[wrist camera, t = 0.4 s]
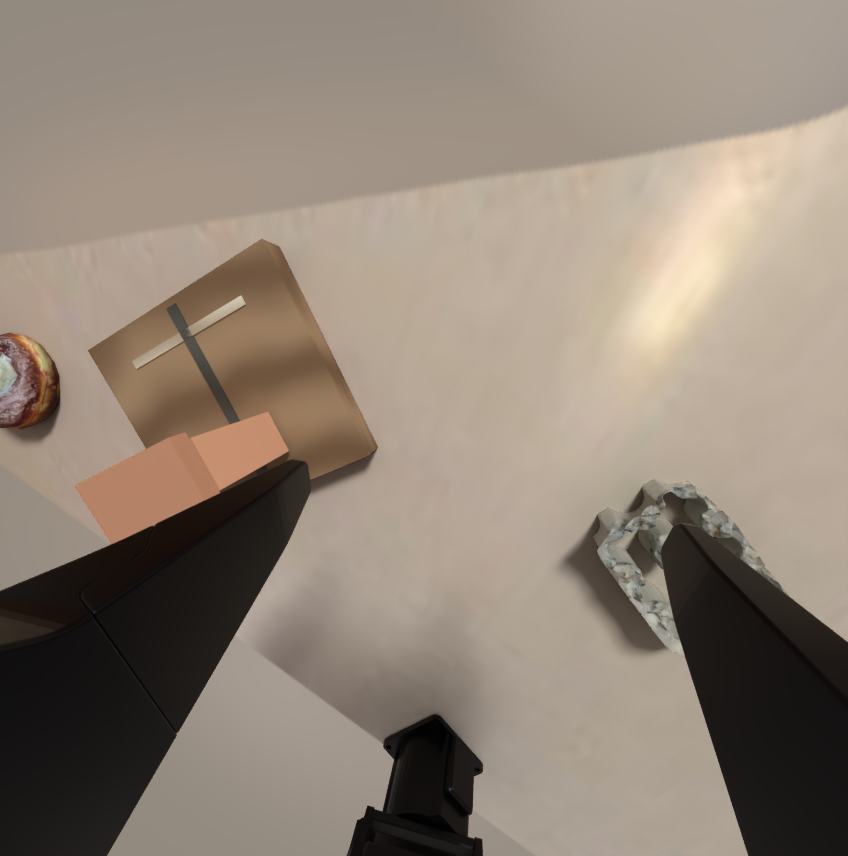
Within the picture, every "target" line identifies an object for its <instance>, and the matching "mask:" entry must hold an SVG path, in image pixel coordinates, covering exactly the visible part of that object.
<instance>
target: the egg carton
mask: <svg viewBox="0 0 848 856" xmlns="http://www.w3.org/2000/svg"><path fill="white" fill-rule="evenodd" d="M642 490H643V492H644V501H643V503H642V505H641V506H640V507H639V508H638V509H637V510H635V511H633V512H629V513H625V512H618V511H616V510H614V509H613V508H611V507H610V508H607V509H605V510H604V511H602V512H601V513H599V514H598V518H599V520H600V528H599V530H598V532H597V533H596V534H595V535H594V536H593V538H594V540H595V542H596V544H597V546H598V547H599V548H598V550H597V551H598V555H599V556H600V558H601V560H602V562H603V563H604V565H605V566H606V568H607V569H608V570H609V571H610V573H611V574H612V576H613V577H614V578H615V580H616V581H617V582H618V584H619V585H620V587H621V588H622V589H623V591H624V592H625V593H626V595H627V596H628V598H629V599H630V601H631V602H632V603H633V604H634V605H635V607H636V608H637V610H638V611H639V612H640V614H641V615H642V616H643V618H644V619H645V620H646V621H647V623H648V624H649V626H650V627H651V629H652V630H653V631H654V632H655V634H656V635H657V636H658V637H659V639H660V640H661V641H662V642H663V644H664V645H665V646H666V647H667V648H668V649H669V650H670V651H672V652H675V653H678V654H683V655H684V652H683V648H682V645H681V642H680V639H679V636H678V633H677V629H676V626H675V623H674V619H673V615H672V610H671V606H670V604H669V603H668V601H667V600H666V599H665V597H664V596H663V594H662V593H661V591H660V590H659V588H658V587H657V586H656V585H655V584H653V583H652V582H649V581H644V579H643V577H642V573H641V570H640V569H639V568H638V567H637V565H636V564H635V563H634V561H633V559H632V558H631V556H630V555H629V553H628V552H627V551H626V549H624V548H623V547H621V546H618V545H608V544H609V543H610V542H613V541H615V540H617V539H619V538H622V536H623V535H624V530H627V531H629V532H633V531H635V530H636V529H639V531H638V538H639V541H640V542H641V544H642V545H643V546H644V548H645V549H646V551H647V552H648V553H649V555H650V557H651V558H652V559H653V560H654V561H655V562H656V563H657V564H658V565H659V566H660V568H661V569H663V565H662V560H661V548H662V545H663V543H664V541H665V540H666V538H667V536H668V534H669V532H670V531H671V529H672V527H673V525H672V524H671V523H670V522H668V521H667V520H664V519H660V518H658V517H660V515H661V514H660V511H659V508H663V507H665V505H666V504H665V502H664V500H663V495H664V494H666V493H668V492H672V493H673V494H675V495H676V496H678V497H680V498H682V499H686V501H685V504H684V511H685V513H686V515H687V516H688V517H689V518H690V519H691V521H692V522H694V523H695V524H696V525H697V526H699V527H700V528H702V529H703V530H704V531H705V532H707V533H708V534H709V535H711V536H712V537H717V538H716V540H717V541H718V542H720V543H721V544H722V545H723V546H725V547H726V548H727V549H729V550H730V551H731V552H732V553H734V554H735V555H736V556H738V557H739V558H740V559H741V560H743V561H744V562H745V563H747V564H748V565H749V566H750V567H752V568H753V569H754V570H756V571H757V572H758V573H759V574H761V575H762V576H763V577H765V578H766V579H767V580H768V581H770V582H771V583H772V584H774V585H775V586H776V587H777V588H779V589H780V590H781V591H783V592H784V593H785V594H786V595H787V593H786V592H785V591H784V589H783V588H782V587H781V585H780V584H779V583H778V582H777V580H776V579H775V578H774V577H773V576H772V574H771V573H770V572H769V571H768V569H767V568H766V566H765V565H764V563H763V562H762V560H761V559H760V557H759V556H758V554H757V553H756V551H755V550H754V549H753V548H752V547H751V546H750V544H749V543H748V541H747V540H746V538H745V537H744V535H743V534H742V533H741V531H740V530H739V528H738V527H737V526H736V524H735V523H734V522H733V521H732V520H731V519H730V518H729V517H728V516H727V515H726V514H725V513H724V512H723V511H722V510H721V509H720V508H718V507H717V506H716V505H715V504H714V503H713V502H712V501H710V500H709V499H708V498H707V497H706V496H705V495H704V494H703V493H702V492H701V491H700V490H699V489H698V488H697V487H694V486H693V485H692V484H691V483H690V482H688V481H687V484H686V485H684V484H683V483H682V482H681V483H677V484H670V485H668V484H664V483H662V482H660V481H658V480H656V479H653V480H651V481H649V482H648V483H646V484H645V485H643V486H642Z"/></svg>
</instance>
